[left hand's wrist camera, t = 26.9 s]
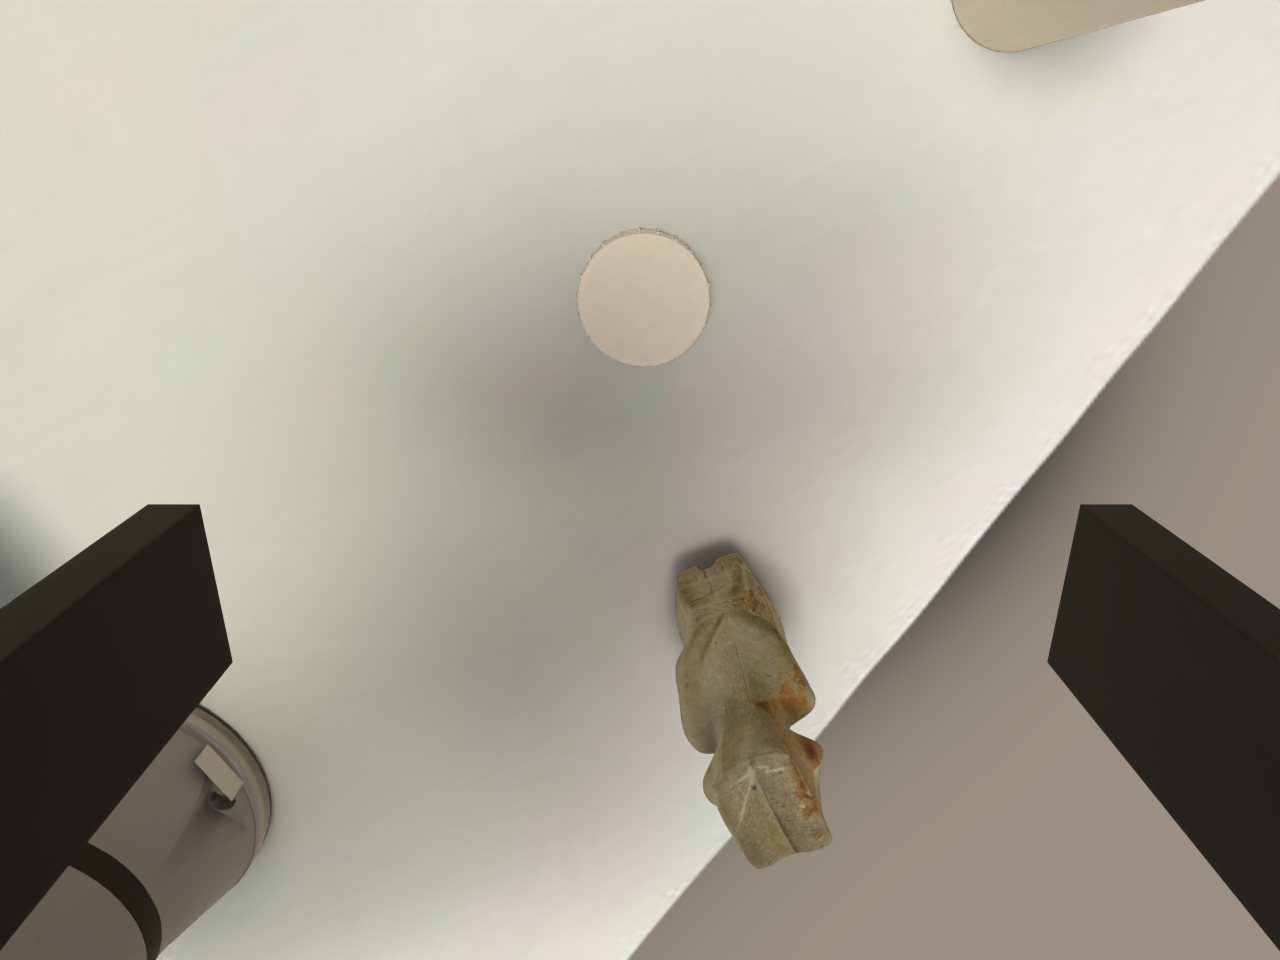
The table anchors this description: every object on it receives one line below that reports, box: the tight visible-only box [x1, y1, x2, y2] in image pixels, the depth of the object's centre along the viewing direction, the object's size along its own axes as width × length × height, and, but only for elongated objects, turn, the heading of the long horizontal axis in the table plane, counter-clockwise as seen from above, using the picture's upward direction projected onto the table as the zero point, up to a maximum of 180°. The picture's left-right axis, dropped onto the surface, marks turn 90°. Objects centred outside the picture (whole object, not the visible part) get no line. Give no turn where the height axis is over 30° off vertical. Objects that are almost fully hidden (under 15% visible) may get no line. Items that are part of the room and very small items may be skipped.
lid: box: [576, 227, 711, 367], centre depth 37 cm, size 6×6×2 cm
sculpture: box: [676, 553, 832, 869], centre depth 37 cm, size 6×7×15 cm
